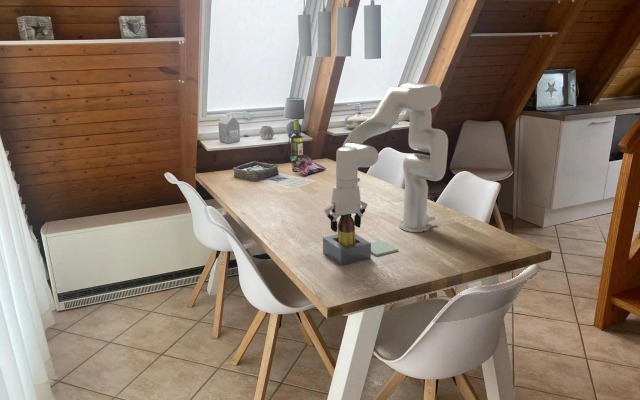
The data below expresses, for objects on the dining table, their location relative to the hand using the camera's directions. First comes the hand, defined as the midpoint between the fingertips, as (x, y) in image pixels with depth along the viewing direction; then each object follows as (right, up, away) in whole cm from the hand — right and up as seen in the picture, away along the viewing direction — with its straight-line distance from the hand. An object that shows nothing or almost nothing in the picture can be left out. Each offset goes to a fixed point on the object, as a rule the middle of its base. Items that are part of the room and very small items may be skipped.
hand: (345, 228), depth 176 cm
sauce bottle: (0, -10, +4) cm, 11 cm away
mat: (+13, -8, +9) cm, 18 cm away
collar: (0, -10, +4) cm, 11 cm away
